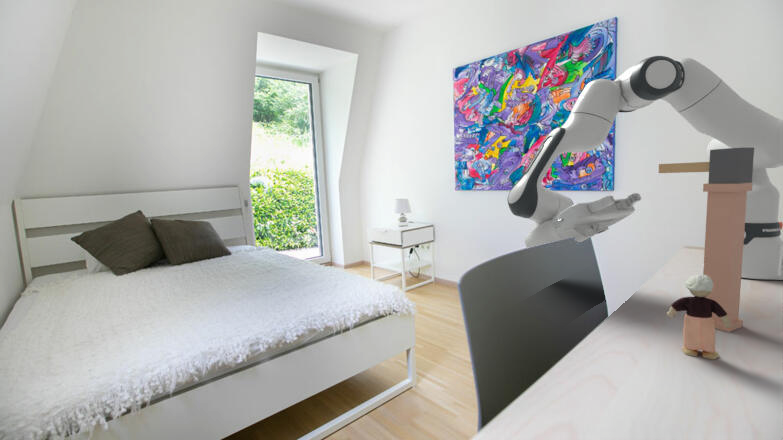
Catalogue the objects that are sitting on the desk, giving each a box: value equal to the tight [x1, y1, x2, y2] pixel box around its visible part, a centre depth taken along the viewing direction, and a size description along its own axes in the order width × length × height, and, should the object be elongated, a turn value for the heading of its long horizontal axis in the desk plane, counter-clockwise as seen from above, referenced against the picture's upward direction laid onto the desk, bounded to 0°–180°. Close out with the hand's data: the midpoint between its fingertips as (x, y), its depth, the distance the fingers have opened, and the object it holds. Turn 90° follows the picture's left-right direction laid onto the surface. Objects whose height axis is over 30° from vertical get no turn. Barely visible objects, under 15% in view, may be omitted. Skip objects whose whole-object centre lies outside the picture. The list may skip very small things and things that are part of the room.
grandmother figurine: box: [666, 273, 732, 360], centre depth 58 cm, size 8×4×13 cm, turn 65°
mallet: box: [658, 148, 754, 184], centre depth 70 cm, size 4×13×6 cm, turn 27°
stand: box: [702, 183, 753, 333], centre depth 68 cm, size 5×5×26 cm
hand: (625, 197), depth 83 cm, fingers open, 8 cm apart
